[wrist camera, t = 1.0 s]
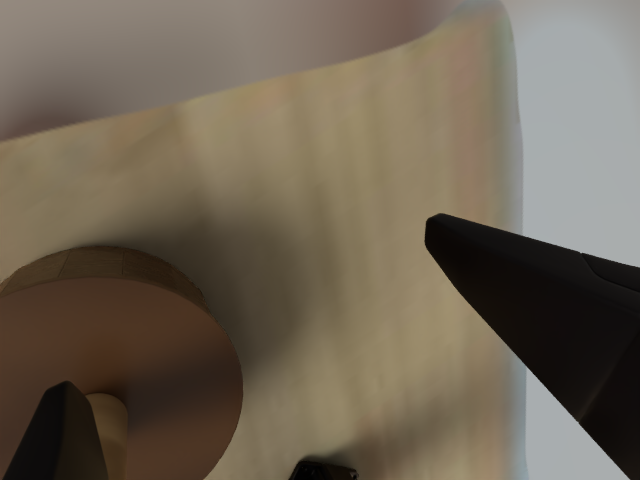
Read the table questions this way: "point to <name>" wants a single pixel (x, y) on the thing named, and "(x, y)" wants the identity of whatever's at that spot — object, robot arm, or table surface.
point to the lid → (122, 371)
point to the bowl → (104, 269)
